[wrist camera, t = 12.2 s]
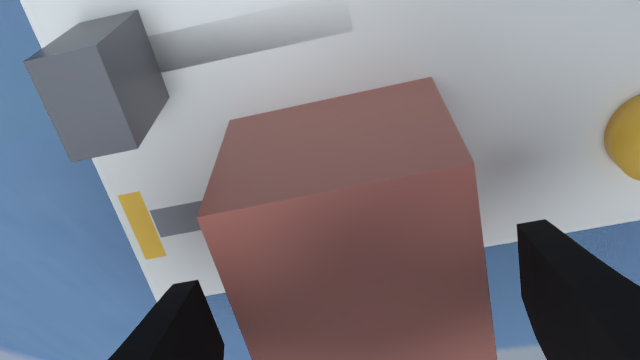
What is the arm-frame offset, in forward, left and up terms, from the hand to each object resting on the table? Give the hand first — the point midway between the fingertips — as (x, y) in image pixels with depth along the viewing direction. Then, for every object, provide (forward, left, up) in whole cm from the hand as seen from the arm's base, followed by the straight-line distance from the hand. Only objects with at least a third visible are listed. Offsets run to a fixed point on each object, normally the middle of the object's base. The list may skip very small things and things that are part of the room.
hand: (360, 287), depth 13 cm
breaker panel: (-2, -2, -6) cm, 7 cm away
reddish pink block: (0, 0, -5) cm, 5 cm away
